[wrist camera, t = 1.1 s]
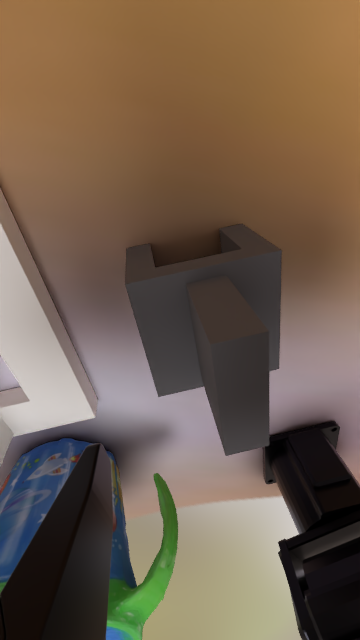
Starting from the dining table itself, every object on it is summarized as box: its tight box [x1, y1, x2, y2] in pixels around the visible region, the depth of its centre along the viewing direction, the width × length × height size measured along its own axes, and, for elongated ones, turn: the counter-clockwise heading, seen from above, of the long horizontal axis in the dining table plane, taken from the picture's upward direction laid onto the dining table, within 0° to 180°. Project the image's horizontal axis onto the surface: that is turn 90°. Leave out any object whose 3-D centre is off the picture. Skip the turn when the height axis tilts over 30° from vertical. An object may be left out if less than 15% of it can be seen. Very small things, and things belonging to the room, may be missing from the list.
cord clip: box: [125, 224, 282, 456], centre depth 12 cm, size 6×6×8 cm
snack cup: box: [0, 438, 178, 640], centre depth 18 cm, size 16×10×10 cm
